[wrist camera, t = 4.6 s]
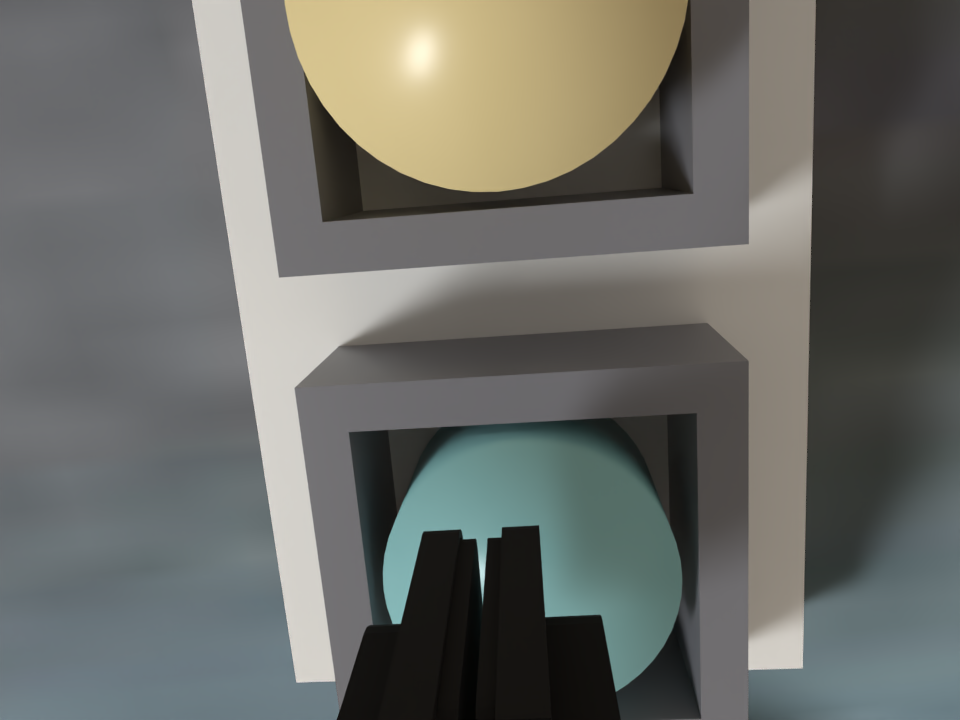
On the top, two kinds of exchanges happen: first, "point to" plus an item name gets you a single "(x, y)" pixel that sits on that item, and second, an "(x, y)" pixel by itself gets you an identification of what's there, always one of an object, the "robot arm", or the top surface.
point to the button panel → (537, 329)
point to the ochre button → (485, 80)
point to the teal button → (553, 524)
